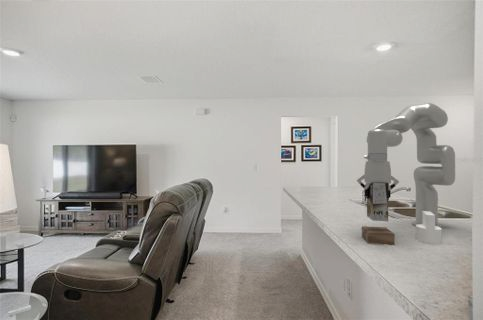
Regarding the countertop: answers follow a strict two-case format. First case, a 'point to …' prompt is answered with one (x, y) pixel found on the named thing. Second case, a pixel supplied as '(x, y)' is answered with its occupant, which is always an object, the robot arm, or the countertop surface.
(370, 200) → the coffee box
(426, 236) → the base with upright slab
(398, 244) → the countertop surface
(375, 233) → the walnut block
